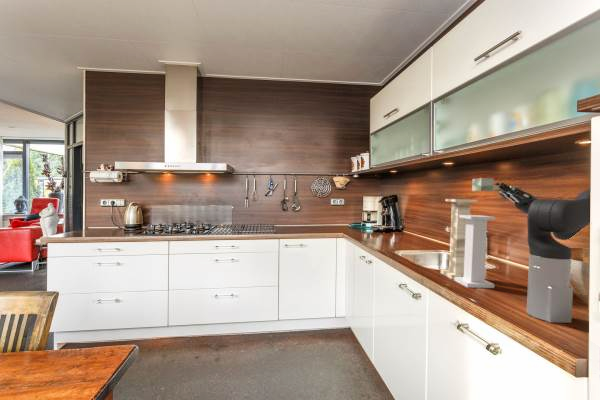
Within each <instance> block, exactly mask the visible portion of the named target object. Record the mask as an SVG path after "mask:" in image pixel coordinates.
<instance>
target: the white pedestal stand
mask: <svg viewBox="0 0 600 400" xmlns="http://www.w3.org/2000/svg"><path fill="white" fill-rule="evenodd" d="M459 217H460V218H466V234H465V256H464V277H454V279H453V281H454V282H456V283H459V284H460V285H462V286H464V287H466V288H471V289H472V288H473V289H476V288H477V289H495V283H493V282H490V281H489V280H486V279H485V277H486V276H485V275H486V273H485V271H486V270H485V269H486V252H487V251H486V250H487V249H486V248H487V230H488V228H487V226H488V220H489V221H492V220H493V221H495V220H496V216H489V215H482V214H481V215H480V214H479V215H478V214H477V215H474V214H470V215H459Z"/></svg>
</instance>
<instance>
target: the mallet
mask: <svg viewBox="0 0 600 400" xmlns="http://www.w3.org/2000/svg"><path fill="white" fill-rule="evenodd" d="M494 180H495V179H494V178H489V177H488V178H487V177H486V178H483V177H479V178H478V177H477V178H472V185H471V186H472V188H471V192H477V191H478V192H498V193H499V192H506V191H504V190H502V189H501V188H499V185H495V184H494V183H495V182H494ZM508 186H509V187H512V188H517V189H519V190H522V185H508Z"/></svg>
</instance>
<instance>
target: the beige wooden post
mask: <svg viewBox="0 0 600 400" xmlns="http://www.w3.org/2000/svg"><path fill="white" fill-rule="evenodd" d="M478 201H479V200H478V199H460V198H458V199H457V198H445V202H449V203H450V202H451V214H450V215H451V217H450V234H449V235H450V237H449V238H450V239H449V263H448V269H440V274H441V275H443V276H445V277H447V278H449V279H450V280H454V277H464V256H465V234H466V218H460V217H459V215H471V203H478Z"/></svg>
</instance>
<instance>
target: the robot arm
mask: <svg viewBox="0 0 600 400" xmlns="http://www.w3.org/2000/svg"><path fill="white" fill-rule="evenodd" d="M494 185H499V188H501V189H502V190H504V191H506V192H499V191H498V195H499V196H501V198H502V199H503V200H507V199H509V201H511V202H512V203H514V206H515V208H516V209H517V210H518V211H520V212H522V213H523V214H524V215H526V216H527V219H526V222H527V244H528V249H529V257H528V271H527V272H528V275H527V276H528V277H527V293H526V294H527V296H526V313H527V314H528V315H529V316H531V317H533V318H535V319H538V320H543V321H545V322H548V323H558V324H560V323H563V324H565V323H568V324H571V323H572V313H573V312H572V311H573V296H574V295H573V294H574V288H572V287H571V285H570V284H571V269H572V268H571V267H572V266H571V265H572V249H571V248H570V247H569V246H567V245H565V244H563V243H560V242H559V241H558V240H561V241H567V239H568V240H570V239H569V238H571V237H572V236H574V235H575V234H576V233H577V232H579V231H580V230H581V229H582V228H585V227H587V226H589V225H590V224H589V223H590V189H591V188H588V189H586V190H583V191H581V192H580V193H579V194H578V195H576V197H575V199H555V198H554V199H553V198H552V199H551V198H550V199H549V198H542V199H541V198H537V197H536V196H534V195H532V194H531V193H529V192H526V191H524V190H523V189H521V190H519V189H517V188H512V187H509V186H510V185H507V184H506V183H504V182H500V183H499V182H495V184H494ZM552 234H553V235H552ZM553 236H554V237H553ZM555 238H556V239H558V240H556V239H555Z"/></svg>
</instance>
